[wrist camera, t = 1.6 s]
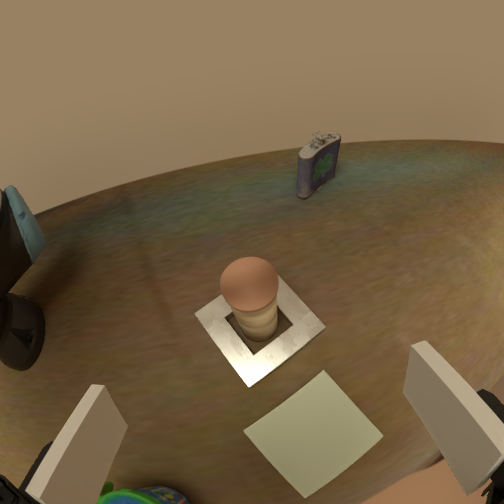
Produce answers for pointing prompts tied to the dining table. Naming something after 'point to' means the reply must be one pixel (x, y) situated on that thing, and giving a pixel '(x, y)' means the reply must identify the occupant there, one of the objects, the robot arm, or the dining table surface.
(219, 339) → the socket
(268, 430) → the mat
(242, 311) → the plug
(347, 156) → the dining table surface
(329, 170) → the flask
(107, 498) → the snack cup
